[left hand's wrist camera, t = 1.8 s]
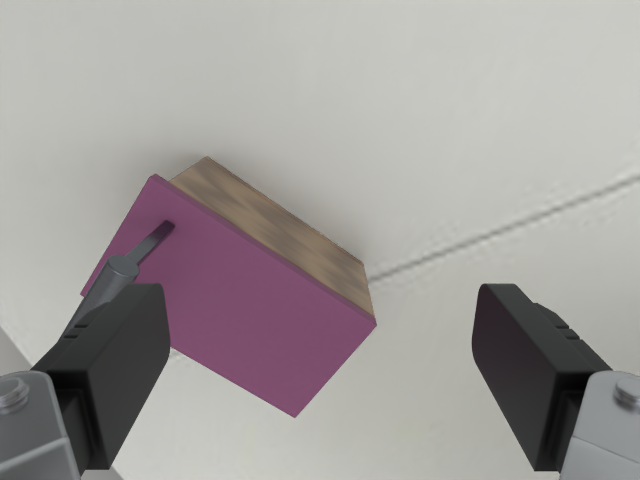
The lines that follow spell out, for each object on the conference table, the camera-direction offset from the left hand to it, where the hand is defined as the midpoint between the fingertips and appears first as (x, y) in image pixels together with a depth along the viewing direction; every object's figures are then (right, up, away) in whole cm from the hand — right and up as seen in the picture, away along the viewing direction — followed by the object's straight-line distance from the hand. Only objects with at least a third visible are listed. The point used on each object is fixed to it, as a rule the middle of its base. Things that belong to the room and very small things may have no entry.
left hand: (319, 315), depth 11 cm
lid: (-6, -2, +18) cm, 19 cm away
